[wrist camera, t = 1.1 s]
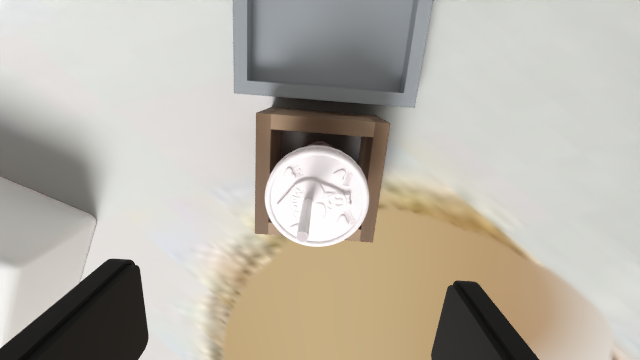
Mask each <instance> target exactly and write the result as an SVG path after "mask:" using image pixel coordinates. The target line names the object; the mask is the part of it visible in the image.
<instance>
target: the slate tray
mask: <svg viewBox="0 0 640 360" xmlns="http://www.w3.org/2000/svg"><path fill="white" fill-rule="evenodd" d="M432 3H433V0H233V51H234V93H237V94H249V95H262V96H275V97H287V98H300V99H312V100H325V101H337V102H350V103H363V104H375V105H388V106H400V107H413V108H415V103H416V97H417V91H418V85H419V80H420V74H421V68H422V62H423V56H424V50H425V44H426V38H427V32H428V27H429V21H430V15H431V9H432Z"/></svg>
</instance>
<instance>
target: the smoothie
mask: <svg viewBox="0 0 640 360" xmlns="http://www.w3.org/2000/svg"><path fill="white" fill-rule="evenodd" d="M265 205H266V210H267V213H268V215H269V218H270V219H271V221H272V223H273V224H274V226H275V227H276V228H277V229H278V230H279V231H280V232H281V233H282V234H283V235H284V236H286V237H287V238H289V239H290V240H292V241H294V242H297V243H299V244H303V245H307V246H316V247H317V246H328V245H332V244H336V243H338V242H341V241H343V240H345V239H346V238H348V237H349V236H350V235H352V234H353V233H354V232H355V231H356V230H357V229H358V228H359V226H360V225H361V224H362V222H363V220H364V218H365V216H366V214H367V211H368V206H369V191H368V185H367V180H366V178H365V175H364V173H363V171H362V169H361V167H360V166H359V165H358V164H357V163H356V162H355V161H354V160H353V159H352V158H351V157H350V156H348V155H347V154H345V153H344V152H342V151H340V150H338V149H335V148H334V147H333V146H332V145H330V144H329V143H326V142H321V141H318V142H313V143H311V144H309V145H307V146H306V147H302V148H298V149H296V150H295V151H293V152H291V153H289V154H287V155H286V156H285V157H283V158H282V159H281V160H280V161H279V162H278V163H277V164H276V166H275V167H274V169H273V171H272V172H271V174H270V177H269V180H268V182H267V185H266V190H265Z"/></svg>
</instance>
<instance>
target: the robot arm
mask: <svg viewBox="0 0 640 360" xmlns="http://www.w3.org/2000/svg"><path fill="white" fill-rule="evenodd" d="M147 342H148V329H147V321H146V313H145V306H144V298H143V290H142V282H141V275H140V269H139V267H138V266H137V265H135V263H134V262H133V261H132V260H126V259H109V260H107V261H106V262H104V263H103V264H102V265H101V266H100V267H98V268H97V269H96V270H95V271H93V272H92V273H91V274H90V275H89V276H87V277H86V278H85V279H84V280H83V281H81V282H80V283H79V284H78V285H76V286H75V287H74V288H73V289H72V290H70V291H69V292H68V293H67V294H66V295H64V296H63V297H62V298H61V299H59V300H58V301H57V302H56V303H55V304H53V305H52V306H51V307H50V308H49V309H47V310H46V311H45V312H44V313H42V314H41V315H40V316H39V317H38V318H36V319H35V320H34V321H33V322H32V323H30V324H29V325H28V326H27V327H25V328H24V329H23V330H22V331H21V332H19V333H18V334H17V335H16V336H15V337H13V338H12V339H11V340H10V341H8V342H7V343H6V344H5V345H4V346H2V347H1V348H0V360H138V359H139V357H140V356H141V354H142V353H143V351H144V350H145V348H146V345H147ZM431 357H432V360H539V359H538V358H537V356H536V355H535V354H534V353H533V351H532V350H531V349H530V348H529V347H528V345H527V344H526V343H525V341H524V340H523V339H522V338H521V336H520V335H519V334H518V333H517V331H516V330H515V329H514V328H513V327H512V325H511V324H510V323H509V321H508V320H507V319H506V318H505V316H504V315H503V314H502V313H501V312H500V310H499V309H498V308H497V306H496V305H495V304H494V303H493V302H492V300H491V299H490V298H489V297H488V295H487V294H486V293H485V292H484V290H483V289H482V288H481V287H480V285H479V284H478V283H476V282H471V281H455V282H454V283H453V285H450V286H449V287H448V289H447V292H446V296H445V300H444V304H443V308H442V312H441V317H440V320H439V325H438V328H437V332H436V337H435V341H434V344H433V349H432V353H431Z"/></svg>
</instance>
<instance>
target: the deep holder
mask: <svg viewBox="0 0 640 360" xmlns="http://www.w3.org/2000/svg"><path fill="white" fill-rule="evenodd" d="M389 128H390V123H388V122H387V121H385V120H383V119H381V118H380V117H378V116H376V115H367V114H354V113H342V112H329V111H317V110H304V109H291V108H279V107H270V108H268V109H265V110H263V111H260V112H257V113H256V181H255V233H256V234H269V235H282V236H284V235H283V234H282V233H281V232H280V231H279V230H278V229H277V228H276V227H275V226H274V224H273V223H272V221H271V219H270V218H269V215H268V213H267V210H266V205H265V190H266V185H267V182H268V180H269V177H270V174H271V172H272V171H273V169H274V167H275V166H276V164H277V163H278V162H279V161H280V160H281V156H282V130H287V131H300V132H313V133H325V134H338V135H351V136H361V144H360V152H359V161H358V165H359V166H360V167H361V169H362V171H363V173H364V175H365V178H366V180H367V185H368V191H369V206H368V211H367V214H366V216H365V218H364V220H363V222H362V224H361V225H360V226H359V228H358V229H357V230H356V231H355V232H354V233H353V234H352V235H350V236H349V237H348V238H346V239H345V240H349V241H361V242H373V237H374V230H375V223H376V216H377V210H378V203H379V196H380V189H381V183H382V176H383V169H384V162H385V155H386V149H387V142H388V135H389Z"/></svg>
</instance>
